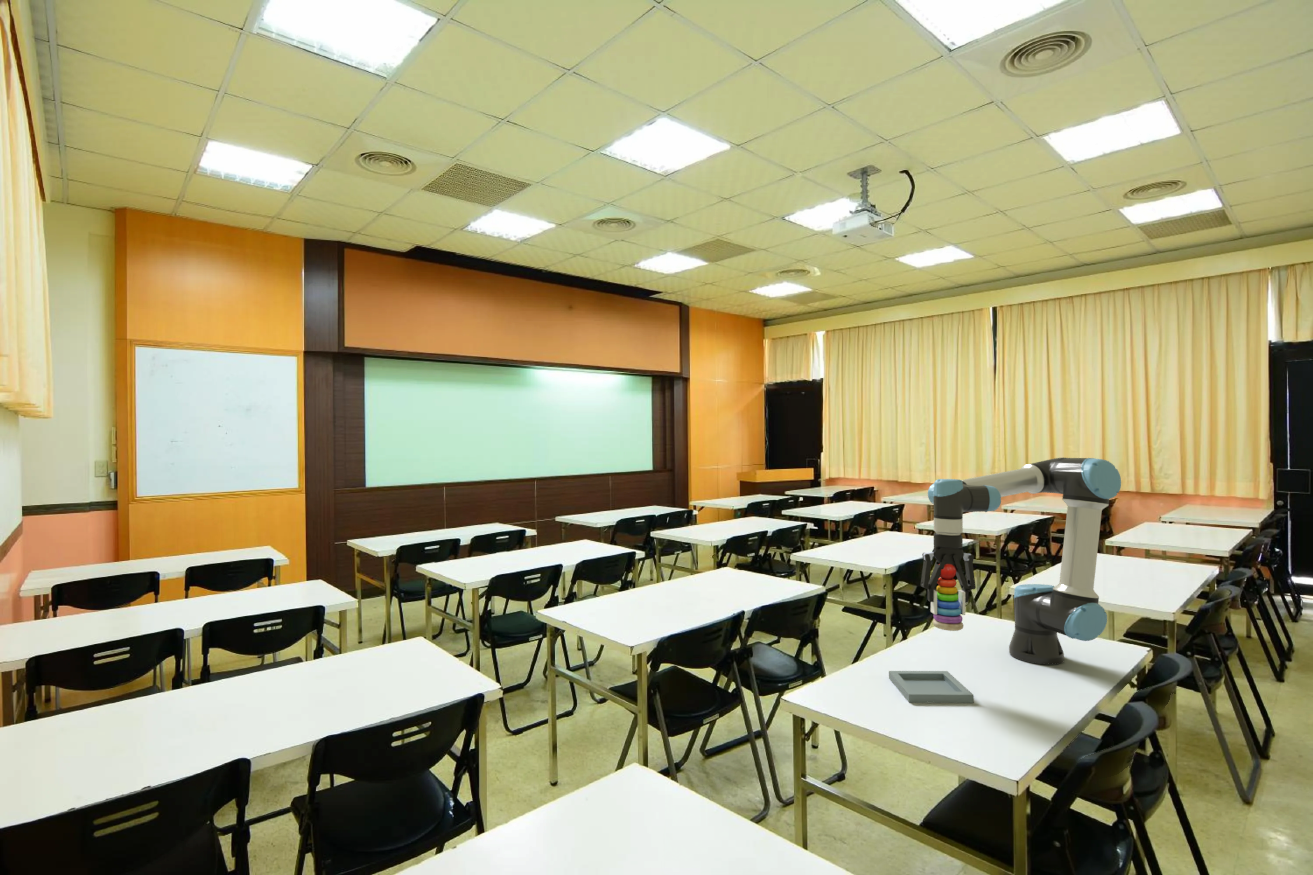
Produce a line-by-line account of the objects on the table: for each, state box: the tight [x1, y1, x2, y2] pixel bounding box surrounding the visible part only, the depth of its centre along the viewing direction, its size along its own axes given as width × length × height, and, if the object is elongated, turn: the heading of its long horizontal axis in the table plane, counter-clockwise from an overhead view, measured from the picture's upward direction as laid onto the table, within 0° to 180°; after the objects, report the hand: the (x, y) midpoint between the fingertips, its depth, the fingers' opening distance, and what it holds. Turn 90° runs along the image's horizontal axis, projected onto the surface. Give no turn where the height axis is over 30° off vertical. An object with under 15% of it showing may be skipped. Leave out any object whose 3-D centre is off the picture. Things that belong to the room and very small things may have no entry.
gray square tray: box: [888, 670, 975, 704], centre depth 175 cm, size 17×17×2 cm
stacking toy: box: [932, 564, 964, 632], centre depth 177 cm, size 8×8×19 cm
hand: (947, 613), depth 177 cm, fingers closed on stacking toy, 7 cm apart
